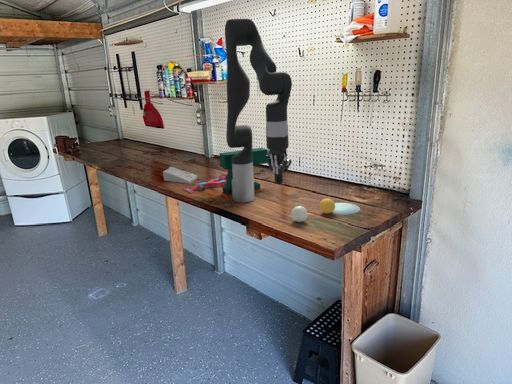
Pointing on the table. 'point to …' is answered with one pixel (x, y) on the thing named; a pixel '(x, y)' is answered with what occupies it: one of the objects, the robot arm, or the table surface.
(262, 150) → the power tool
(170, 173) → the ramp
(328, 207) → the object ball
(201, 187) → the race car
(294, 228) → the table surface
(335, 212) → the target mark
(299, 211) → the cue ball
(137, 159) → the table surface
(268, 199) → the table surface
